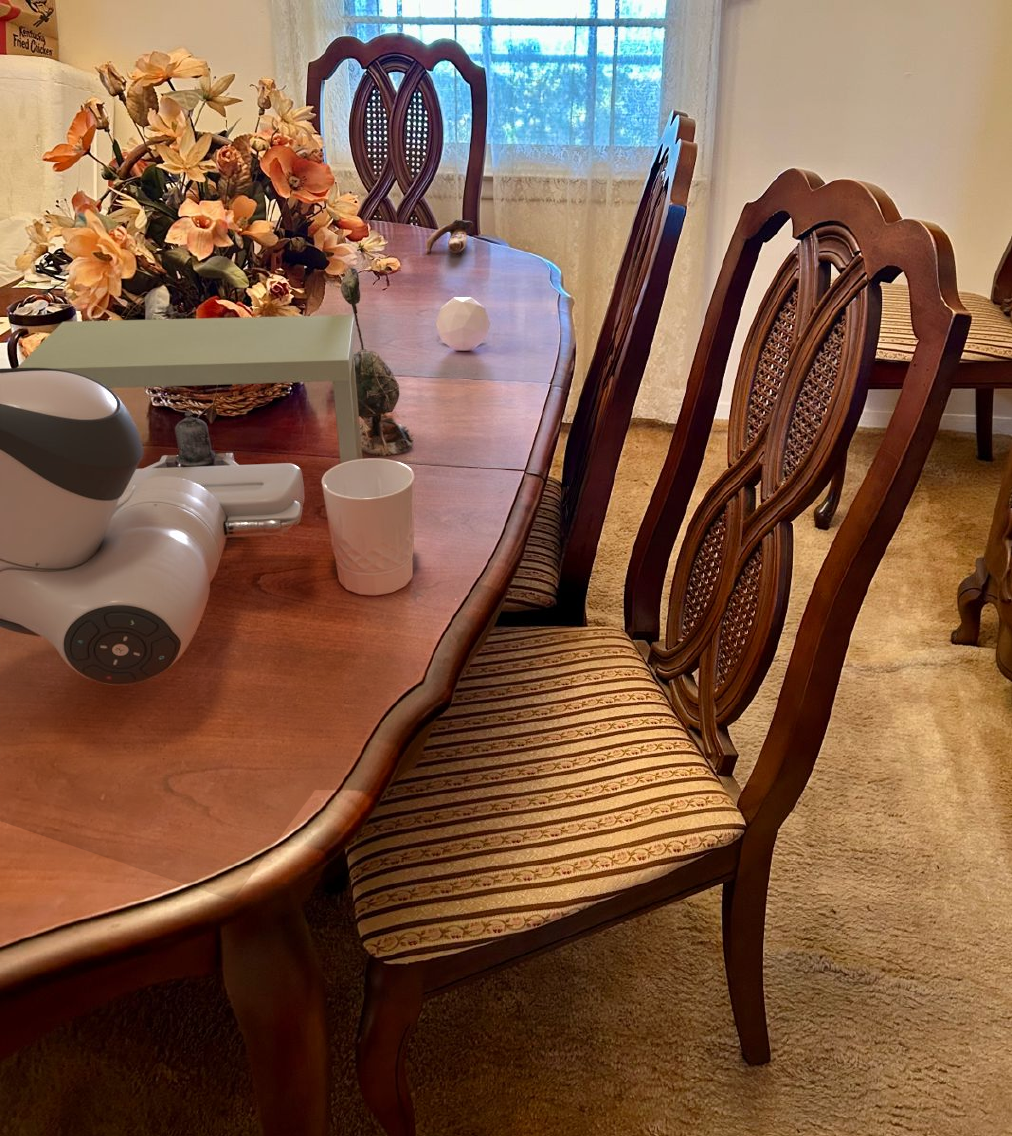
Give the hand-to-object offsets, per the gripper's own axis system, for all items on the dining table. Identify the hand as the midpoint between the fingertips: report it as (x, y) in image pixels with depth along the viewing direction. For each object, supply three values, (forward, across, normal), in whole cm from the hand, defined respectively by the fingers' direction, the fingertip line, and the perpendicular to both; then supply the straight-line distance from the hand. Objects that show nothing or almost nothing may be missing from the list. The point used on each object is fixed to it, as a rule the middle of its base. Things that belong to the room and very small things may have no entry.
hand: (199, 461), depth 87 cm
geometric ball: (+54, -28, +8) cm, 61 cm away
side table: (+8, 0, +8) cm, 11 cm away
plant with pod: (+20, -16, +8) cm, 27 cm away
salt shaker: (-1, 0, +7) cm, 7 cm away
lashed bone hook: (+118, -29, +8) cm, 122 cm away
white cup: (-9, -16, +8) cm, 20 cm away
